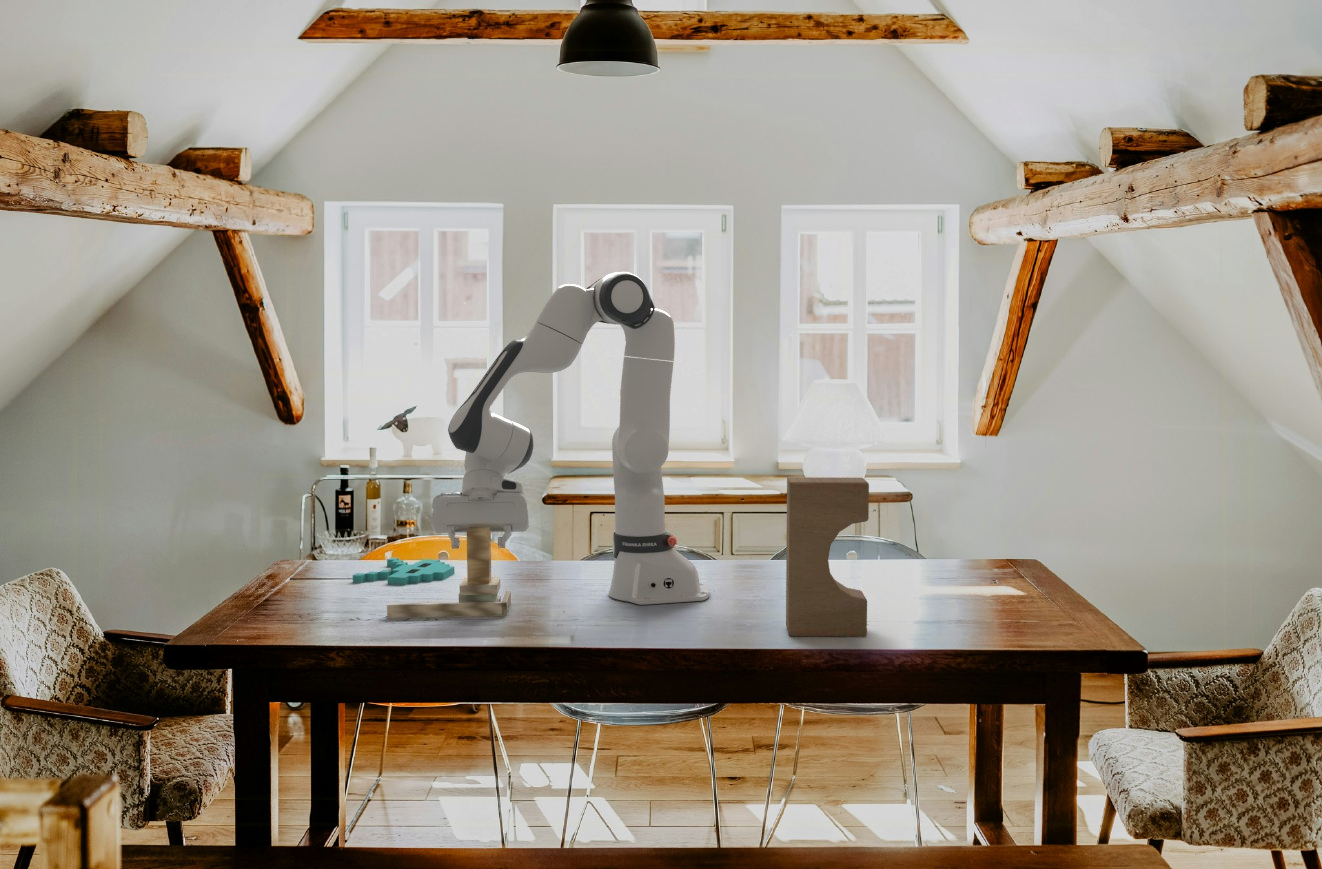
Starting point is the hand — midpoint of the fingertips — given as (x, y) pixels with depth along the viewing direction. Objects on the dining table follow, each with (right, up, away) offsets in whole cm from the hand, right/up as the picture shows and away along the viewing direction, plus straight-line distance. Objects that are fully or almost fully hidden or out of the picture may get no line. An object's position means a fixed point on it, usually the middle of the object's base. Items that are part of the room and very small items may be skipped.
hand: (478, 546), depth 215 cm
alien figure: (-23, -12, +40) cm, 47 cm away
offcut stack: (0, -13, +2) cm, 13 cm away
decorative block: (+70, -16, -11) cm, 72 cm away
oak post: (0, -7, +1) cm, 7 cm away
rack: (-6, -15, +2) cm, 16 cm away
